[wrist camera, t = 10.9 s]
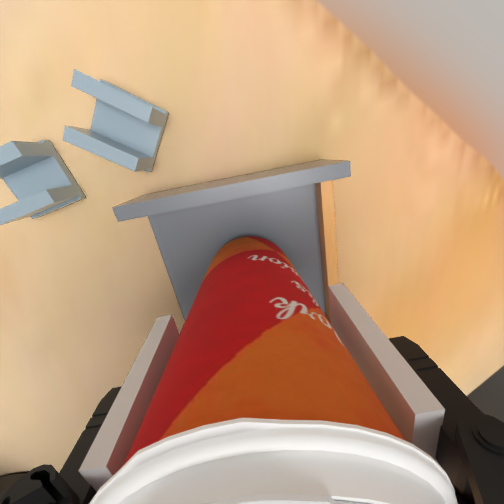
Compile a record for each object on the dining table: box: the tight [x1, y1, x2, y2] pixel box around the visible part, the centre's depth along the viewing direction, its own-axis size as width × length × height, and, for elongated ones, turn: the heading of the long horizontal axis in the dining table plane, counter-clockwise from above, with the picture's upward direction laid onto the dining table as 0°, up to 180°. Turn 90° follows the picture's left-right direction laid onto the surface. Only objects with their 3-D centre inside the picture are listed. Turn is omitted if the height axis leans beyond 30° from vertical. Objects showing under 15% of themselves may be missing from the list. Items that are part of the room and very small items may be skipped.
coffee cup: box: [89, 236, 458, 504], centre depth 11 cm, size 8×8×15 cm
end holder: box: [112, 160, 351, 324], centre depth 18 cm, size 13×14×5 cm
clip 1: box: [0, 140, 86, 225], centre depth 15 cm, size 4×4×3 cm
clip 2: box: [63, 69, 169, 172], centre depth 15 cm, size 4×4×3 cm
